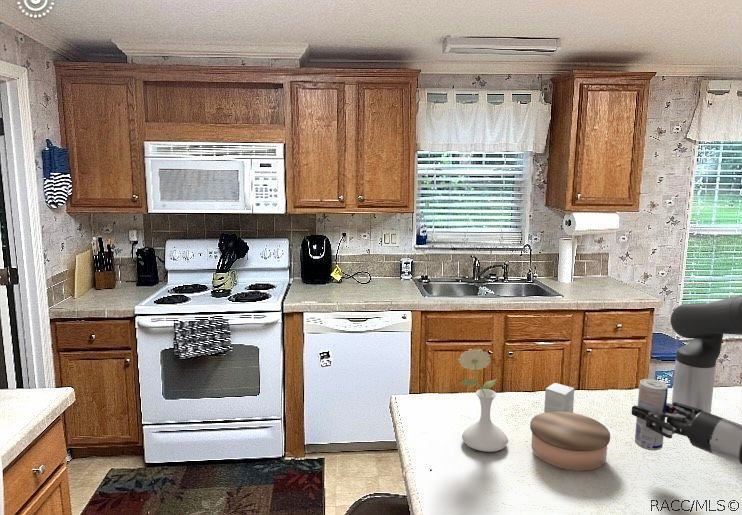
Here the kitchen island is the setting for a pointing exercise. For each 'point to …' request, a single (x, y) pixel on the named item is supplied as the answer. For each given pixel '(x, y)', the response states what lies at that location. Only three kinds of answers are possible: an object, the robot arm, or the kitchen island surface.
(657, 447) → the beverage can
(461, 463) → the kitchen island surface
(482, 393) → the flower in vase
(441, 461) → the kitchen island surface
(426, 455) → the kitchen island surface
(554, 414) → the lidded bowl
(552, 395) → the product box
